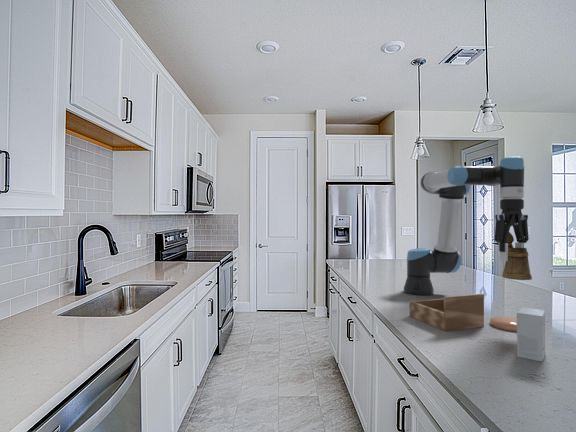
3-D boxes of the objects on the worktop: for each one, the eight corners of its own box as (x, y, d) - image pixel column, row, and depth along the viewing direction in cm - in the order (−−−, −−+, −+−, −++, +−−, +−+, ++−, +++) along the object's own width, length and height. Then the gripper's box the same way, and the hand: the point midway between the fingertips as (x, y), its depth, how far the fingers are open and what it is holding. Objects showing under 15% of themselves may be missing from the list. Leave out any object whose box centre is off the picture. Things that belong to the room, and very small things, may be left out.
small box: (520, 348, 112) (520, 306, 112) (545, 353, 108) (545, 310, 108) (516, 356, 106) (516, 312, 106) (542, 362, 102) (542, 316, 102)
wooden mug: (512, 273, 143) (512, 228, 143) (537, 280, 129) (538, 229, 129) (490, 274, 142) (490, 228, 142) (513, 280, 129) (514, 229, 129)
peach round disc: (481, 322, 140) (481, 318, 140) (508, 319, 144) (508, 315, 144) (514, 333, 127) (514, 329, 127) (543, 329, 131) (543, 325, 131)
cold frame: (409, 316, 149) (409, 286, 149) (443, 312, 154) (444, 284, 154) (446, 331, 129) (446, 297, 129) (483, 326, 135) (483, 294, 135)
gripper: (500, 197, 129) (500, 262, 129) (540, 198, 135) (540, 260, 135) (482, 198, 136) (482, 260, 136) (522, 199, 142) (521, 258, 142)
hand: (511, 260), depth 135 cm, fingers closed on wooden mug, 7 cm apart
